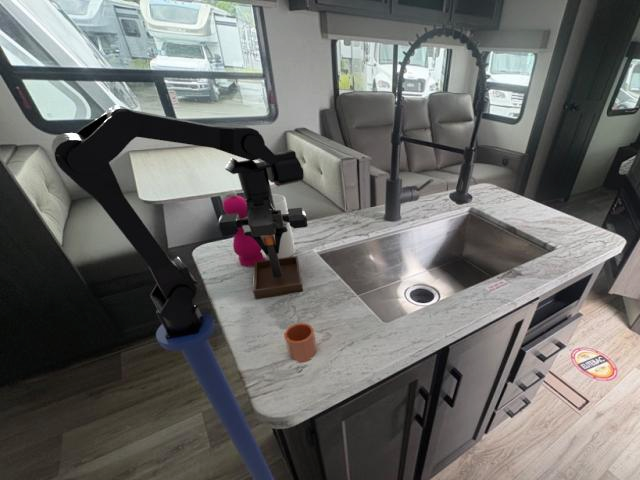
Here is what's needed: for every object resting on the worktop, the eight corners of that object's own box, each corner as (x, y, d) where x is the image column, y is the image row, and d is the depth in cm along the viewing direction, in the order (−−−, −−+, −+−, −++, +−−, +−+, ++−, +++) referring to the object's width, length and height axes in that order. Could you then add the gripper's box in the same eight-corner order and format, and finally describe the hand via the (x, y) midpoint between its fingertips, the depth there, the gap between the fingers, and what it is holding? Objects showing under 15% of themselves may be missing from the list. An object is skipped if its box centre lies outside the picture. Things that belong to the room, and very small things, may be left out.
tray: (255, 299, 77) (252, 291, 76) (256, 269, 88) (254, 261, 86) (303, 291, 80) (301, 284, 79) (299, 263, 91) (297, 255, 89)
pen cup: (290, 365, 61) (284, 345, 58) (288, 345, 65) (283, 326, 62) (318, 359, 63) (315, 339, 59) (315, 340, 67) (312, 320, 64)
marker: (272, 278, 82) (262, 239, 75) (272, 273, 84) (262, 234, 77) (282, 277, 83) (273, 237, 76) (282, 272, 84) (273, 233, 78)
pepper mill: (232, 264, 90) (208, 192, 77) (251, 252, 95) (231, 184, 83) (253, 269, 87) (231, 197, 75) (270, 257, 93) (253, 188, 81)
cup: (270, 245, 98) (257, 194, 89) (297, 245, 99) (287, 193, 89) (263, 259, 92) (249, 205, 82) (292, 258, 93) (281, 205, 83)
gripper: (203, 208, 61) (228, 276, 71) (304, 199, 66) (314, 264, 76) (211, 189, 70) (232, 252, 79) (300, 182, 74) (309, 243, 84)
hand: (272, 253), depth 79 cm, fingers closed on marker, 2 cm apart
